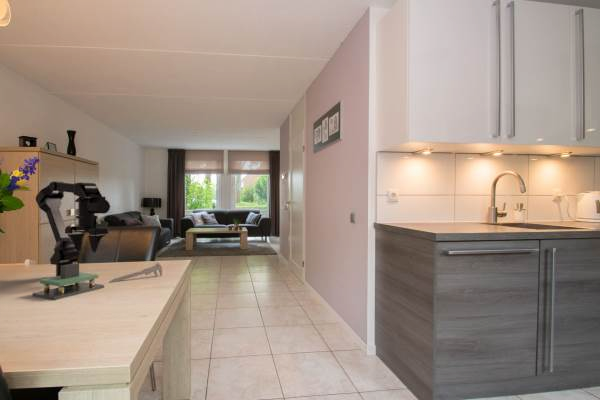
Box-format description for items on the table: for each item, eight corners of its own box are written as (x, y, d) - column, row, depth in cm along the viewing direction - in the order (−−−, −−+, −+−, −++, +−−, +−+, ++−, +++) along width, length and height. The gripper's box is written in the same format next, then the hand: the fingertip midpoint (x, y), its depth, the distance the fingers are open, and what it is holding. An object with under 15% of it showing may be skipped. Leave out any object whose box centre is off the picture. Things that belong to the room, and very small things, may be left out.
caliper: (161, 276, 154) (161, 261, 154) (162, 276, 153) (162, 262, 153) (109, 282, 142) (109, 267, 142) (109, 283, 141) (109, 267, 141)
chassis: (32, 296, 121) (32, 284, 121) (82, 284, 137) (82, 274, 137) (54, 300, 116) (54, 287, 116) (104, 287, 133) (104, 277, 133)
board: (39, 283, 123) (39, 266, 123) (78, 275, 135) (78, 260, 135) (59, 286, 118) (59, 269, 118) (98, 277, 131) (98, 262, 131)
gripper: (119, 212, 148) (119, 250, 148) (89, 212, 155) (89, 247, 155) (95, 213, 137) (95, 253, 137) (64, 213, 145) (64, 251, 145)
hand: (86, 251), depth 144 cm, fingers open, 9 cm apart
